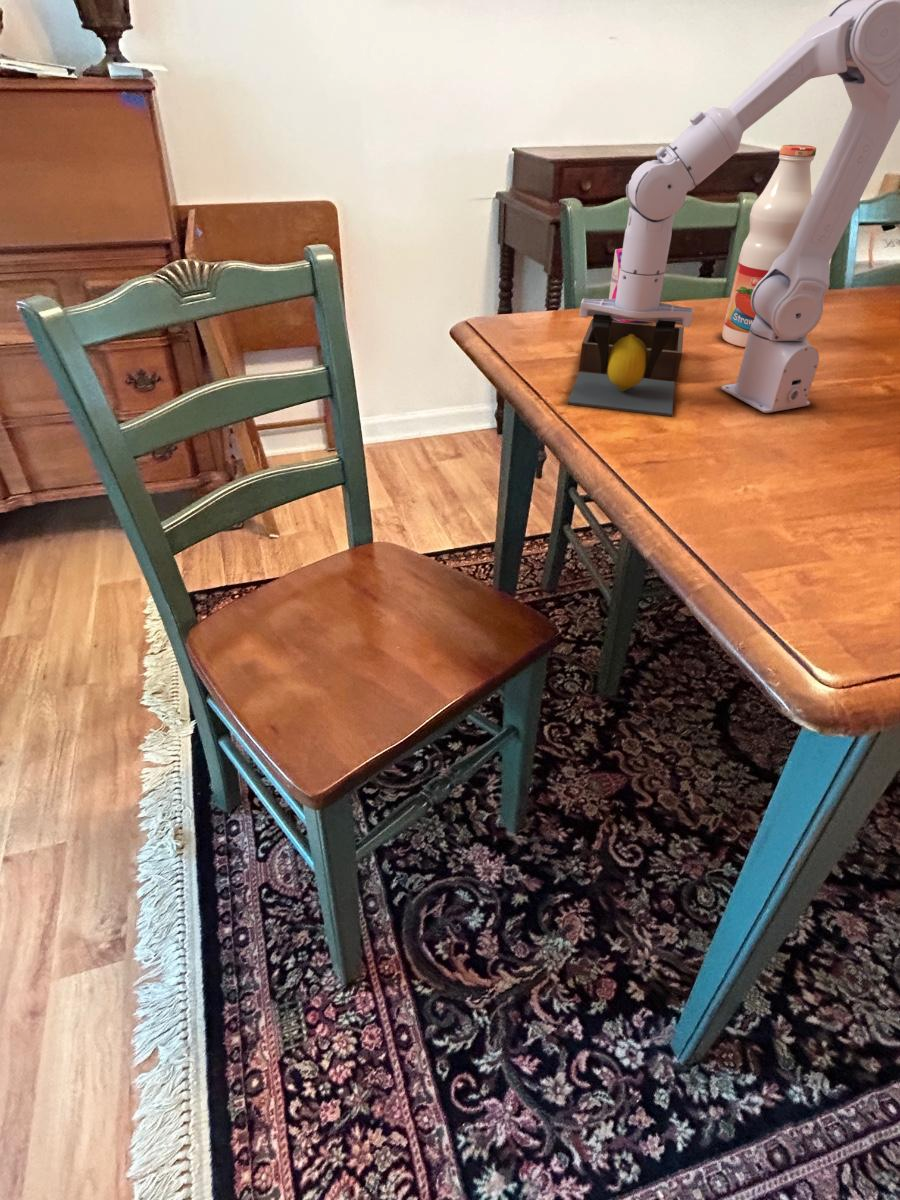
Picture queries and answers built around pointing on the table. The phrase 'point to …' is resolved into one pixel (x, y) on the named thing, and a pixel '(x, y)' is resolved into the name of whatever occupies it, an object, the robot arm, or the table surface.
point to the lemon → (627, 362)
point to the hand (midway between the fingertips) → (625, 373)
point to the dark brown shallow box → (667, 359)
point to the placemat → (623, 395)
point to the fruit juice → (769, 234)
